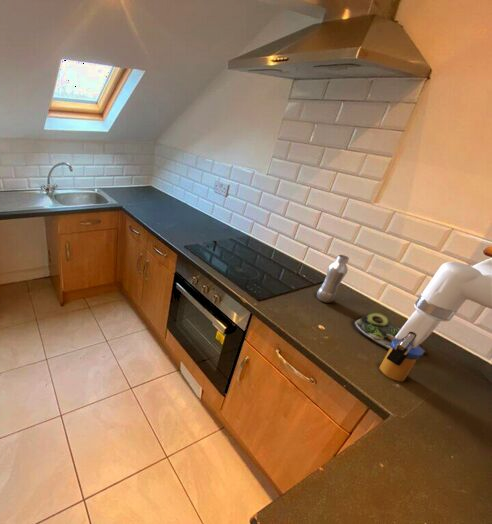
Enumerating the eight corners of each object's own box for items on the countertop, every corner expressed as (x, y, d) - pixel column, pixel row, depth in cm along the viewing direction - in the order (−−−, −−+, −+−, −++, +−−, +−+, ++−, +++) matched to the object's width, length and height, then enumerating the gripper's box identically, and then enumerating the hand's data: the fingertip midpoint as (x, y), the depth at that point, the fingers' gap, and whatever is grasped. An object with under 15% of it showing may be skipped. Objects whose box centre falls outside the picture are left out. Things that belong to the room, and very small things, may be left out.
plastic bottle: (335, 302, 122) (356, 258, 113) (327, 306, 119) (348, 262, 109) (320, 294, 127) (339, 251, 117) (311, 298, 123) (331, 254, 114)
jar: (400, 371, 90) (416, 345, 85) (406, 386, 85) (424, 359, 80) (376, 364, 92) (390, 337, 88) (380, 378, 87) (396, 351, 82)
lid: (387, 339, 88) (389, 334, 88) (416, 347, 86) (419, 342, 85) (393, 354, 83) (395, 349, 82) (424, 363, 80) (427, 358, 79)
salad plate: (432, 348, 102) (439, 338, 99) (408, 365, 93) (416, 354, 91) (371, 315, 116) (377, 305, 114) (346, 327, 108) (352, 317, 105)
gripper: (427, 292, 85) (394, 339, 93) (405, 308, 75) (371, 358, 84) (461, 307, 79) (423, 355, 88) (443, 326, 70) (402, 378, 79)
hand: (398, 356), depth 86 cm, fingers closed on lid, 6 cm apart
